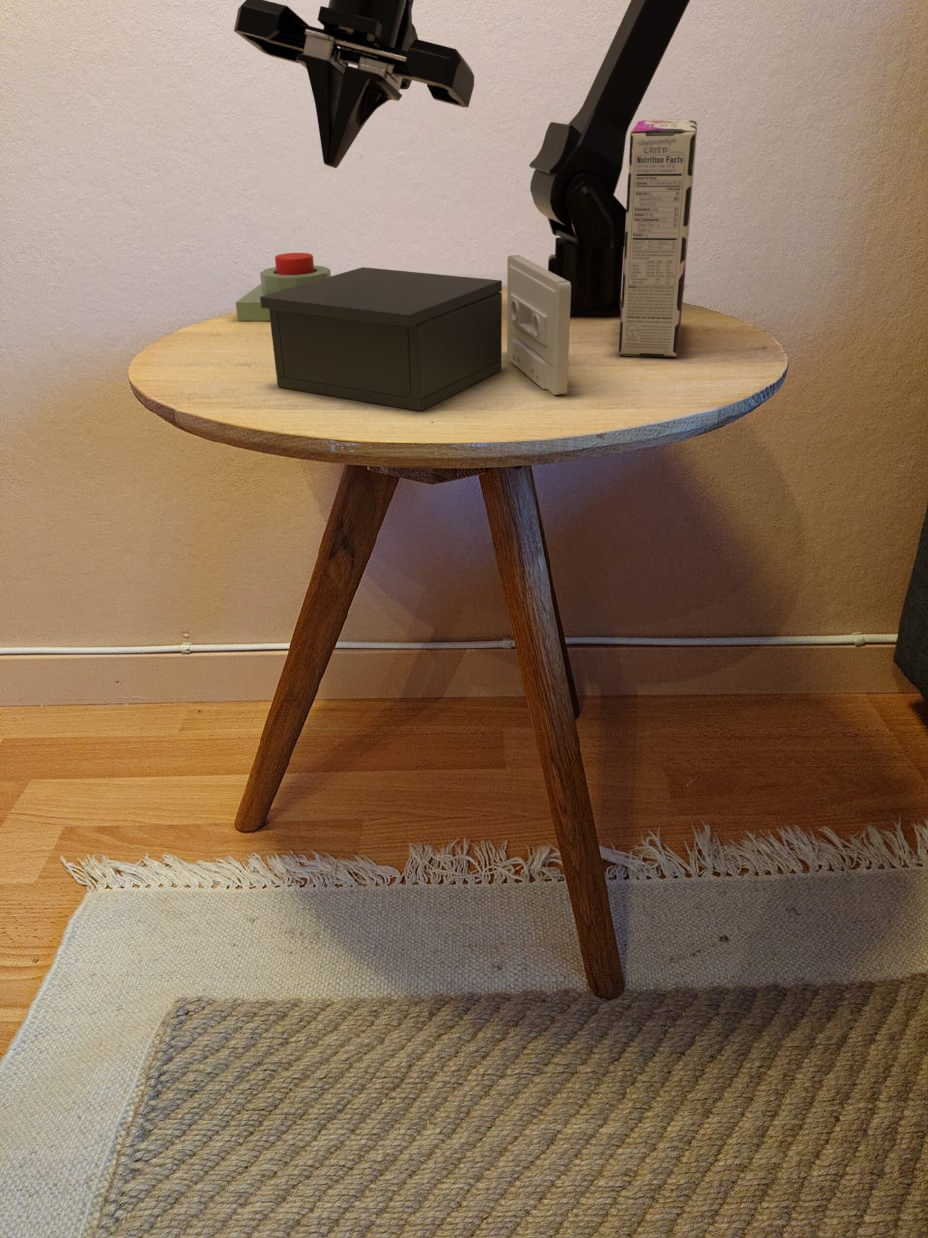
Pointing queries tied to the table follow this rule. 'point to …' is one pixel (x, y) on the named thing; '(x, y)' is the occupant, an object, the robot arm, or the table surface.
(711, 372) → the table surface
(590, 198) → the robot arm
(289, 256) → the button
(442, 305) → the lid
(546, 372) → the cassette
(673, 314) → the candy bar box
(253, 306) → the switch block
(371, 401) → the black lidded box
